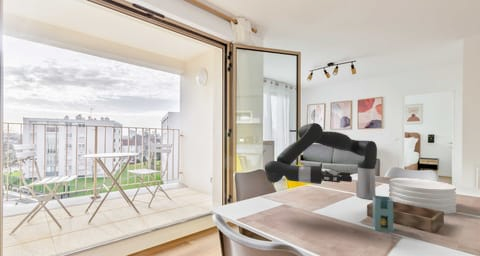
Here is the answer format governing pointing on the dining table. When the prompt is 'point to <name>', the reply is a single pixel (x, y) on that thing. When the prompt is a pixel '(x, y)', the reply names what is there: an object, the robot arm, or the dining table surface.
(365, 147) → the robot arm
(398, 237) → the dining table surface
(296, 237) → the dining table surface
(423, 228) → the tray
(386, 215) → the teal open box
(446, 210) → the plate stack
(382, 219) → the ball
